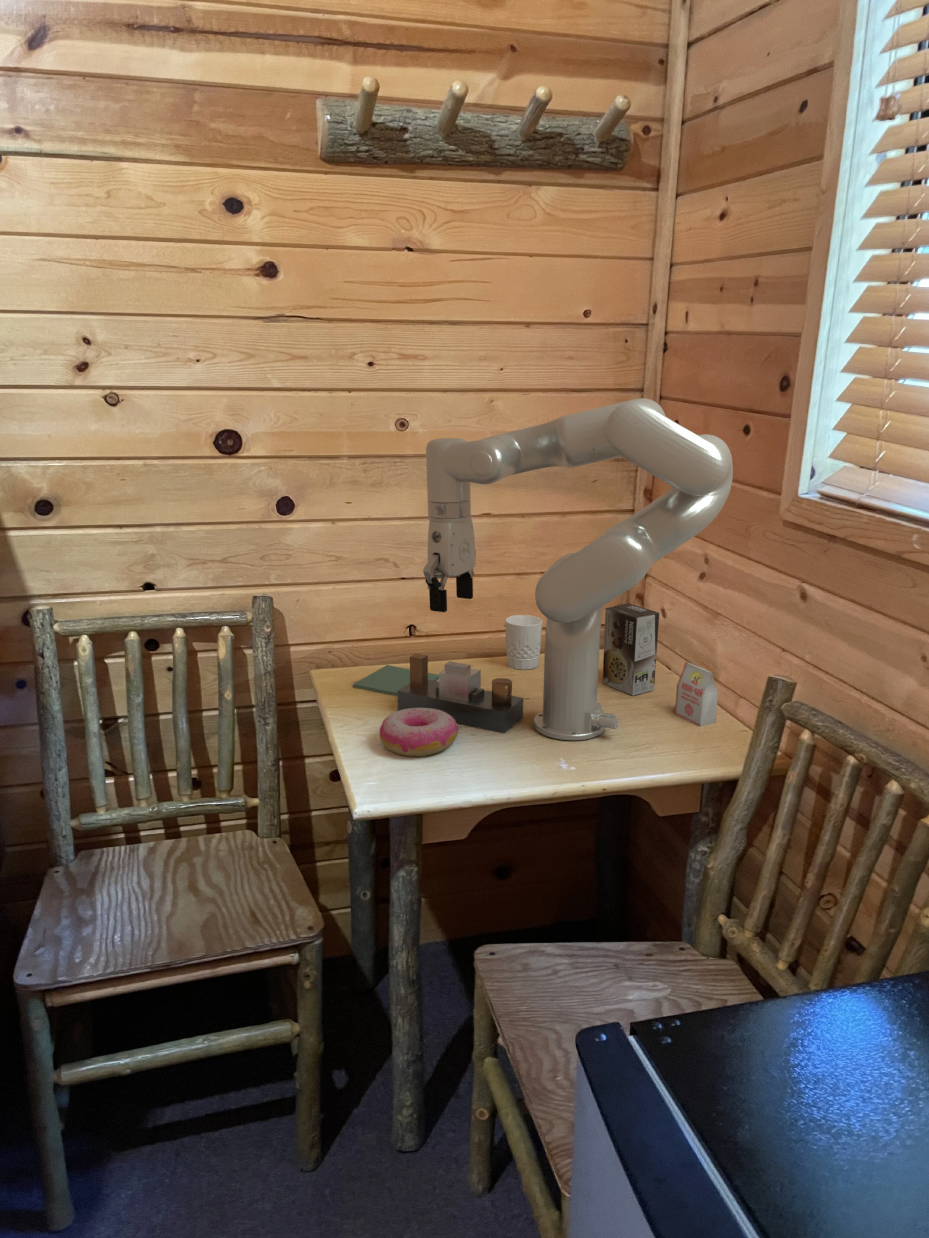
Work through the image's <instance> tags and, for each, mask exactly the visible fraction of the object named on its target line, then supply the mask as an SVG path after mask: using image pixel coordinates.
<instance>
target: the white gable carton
mask: <svg viewBox="0 0 929 1238" xmlns="http://www.w3.org/2000/svg"><path fill="white" fill-rule="evenodd" d="M675 695H676V696H675V704H674V705H675V707H674V715H676V716H678V717H680V718H682V719H684V720H686V721H688V722H689V723H692V724H694V725H696V726H698V727H705V726H707V725H709V726H710V725H713V724H716V720H717V711H718V710H717V709H718V699H719V691H718V688H717V685H716V682H715V679H714V673H713V671H709V670H707V669H705V668H703V667H700V666H697V665H695V664H693V663H691V662H688V661H687V662H686V661H685V663H684V665H683V669H682V672H681V674H680V676H679V679H678V681H677V683H676V694H675Z"/></svg>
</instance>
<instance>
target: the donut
mask: <svg viewBox="0 0 929 1238" xmlns="http://www.w3.org/2000/svg"><path fill="white" fill-rule="evenodd" d="M458 727H459V726H458V724H457V723H456V721H455V719H454V718H453V717H452V716H450V715H449V714H447V713H446V712H444V711H441V710H437V709H431V708H409V709H403V710H399V711H398V710H396V711H394V712H392V713H391V714H389V715H388V716H386V717H385V718H384V720H383V721H382V723H381V724H380V727H379V738H380V740H381V743H382V745H383V746H384V747H386V749H388V750H389V751H391V752H393V753H394V754H398V755H400V756H405V757H424V756H430V755H435V754H438V753H440V752H442V751H445V750H446V749H448V748H449V747H450V746H451V745H452V744H453V743H454V742H455V740H456V739H457V737H458V730H459V728H458Z"/></svg>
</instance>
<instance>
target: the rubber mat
mask: <svg viewBox="0 0 929 1238" xmlns="http://www.w3.org/2000/svg"><path fill="white" fill-rule="evenodd" d="M428 680H434V681H439V673H438V674H437V673H433V672H428ZM408 684H410V668H405V667H401V666H400V667H399V666H394V665H389V664H387V665H385V666H383V667H381V668H380V669H378V670H375V671H374V672H372V673H370V674H368V675H366V676H364V677H362V678H361V679H359V680H358V681H356V682H353V683H352V687H353V688H357V689H362V690H367V691H372V692H377V693H381V694H384V695H385V694H386V695H390V696H395V697H398V693H397V691H398V690H400V689H401V688H403V687H405V686H406V685H408Z"/></svg>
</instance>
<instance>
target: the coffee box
mask: <svg viewBox="0 0 929 1238" xmlns="http://www.w3.org/2000/svg"><path fill="white" fill-rule="evenodd" d="M604 612H605V613H604V633H603V634H604V638H603V659H602V660H603V661H602V662H603V664H602V666H603V667H602V683H601V684H603V685H606V686H608V687H611V688H614V689H616V690H618V691H621V692H623V693H625V694H628V695H631V696H632V697H634V696H637V695H641V694H646V693H648V692H652V691H654V690H655V683H656V667H657V653H658V637H659V623H660V621H659V620H660V612H659V611H655V610H651V609H649V608H645V607H641V606H638V605H636V604H635V605H634V604H631V603H628V602H627V603H622V604H617V605H613V606H609V607H605V611H604Z"/></svg>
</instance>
